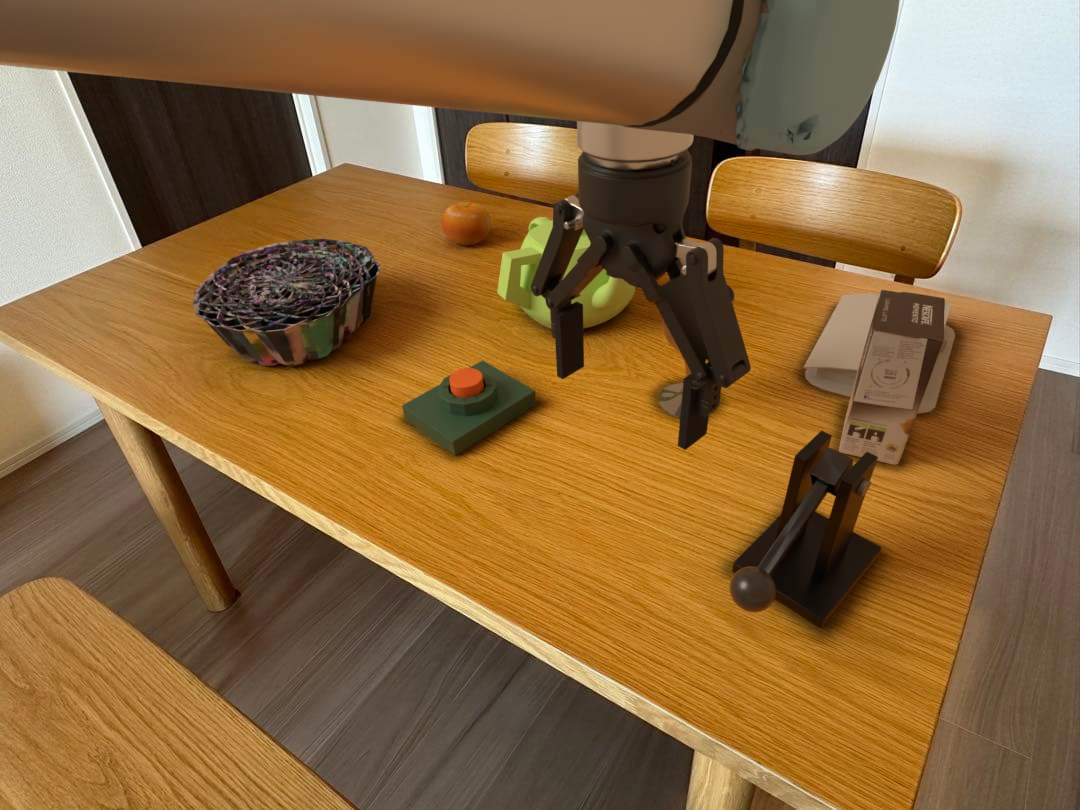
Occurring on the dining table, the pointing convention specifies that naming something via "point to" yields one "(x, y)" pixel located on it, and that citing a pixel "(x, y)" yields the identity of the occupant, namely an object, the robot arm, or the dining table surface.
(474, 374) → the button
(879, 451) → the coffee box
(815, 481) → the lever
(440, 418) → the button box
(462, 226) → the fruit
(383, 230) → the dining table surface
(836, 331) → the white open box
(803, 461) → the bracket
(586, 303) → the teapot
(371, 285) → the decorative bowl
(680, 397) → the wine glass
